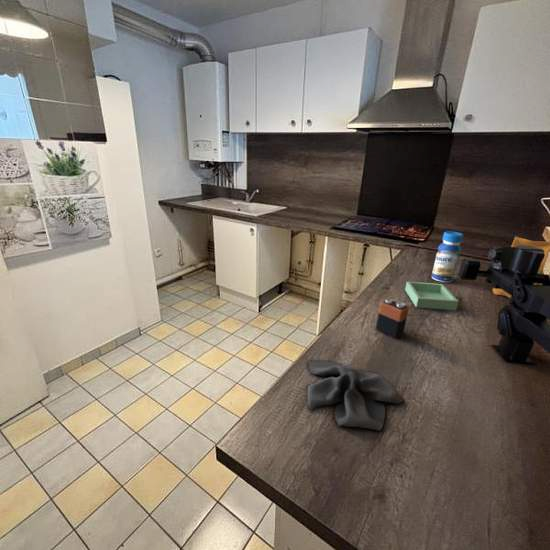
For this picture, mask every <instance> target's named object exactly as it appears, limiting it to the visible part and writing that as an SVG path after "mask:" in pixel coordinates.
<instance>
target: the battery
mask: <svg viewBox="0 0 550 550" xmlns="http://www.w3.org/2000/svg"><path fill="white" fill-rule="evenodd" d="M409 309H410V307H409V306H408V305H406V304H405V303H404V302H402V301H395V300H393V299H391V298H386V299H385V300H383V301H381V302H380V303H379V310H378V314H377V320H376V325H375V329H376V330H378V331H379V332H382V333H383V334H386V335H388V336H390V337H392V338H394V339H398V338H400V337H401V336H402V335H404V332H405V329H406V328H405V327H406V323H407V319H408V315H409Z"/></svg>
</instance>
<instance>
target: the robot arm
mask: <svg viewBox="0 0 550 550" xmlns="http://www.w3.org/2000/svg"><path fill="white" fill-rule="evenodd" d="M544 253H545V251H544V250H543V249H541V248H537V247H532V246H523V245H518V246H516V247H511V246H507V245H505V246H494V247H493V248H491V249H489V250H488V260H490V262H489V263H488V268H481V261H480V260H479V259H477V258H476V259H475V258H463V259H462V260H461V263H460V266H459V270H458V273H457V277H458V278H459V280H461V281H472V282H474V281H476V280H477V278H485V279H484V280H485V281H484V282H485V283H486V284H492V285H493V287H492V288H495V289H502V290H504V291H505V292H507V293H508V294H510V295H511V298H509V302H508V304H505V305H504V306H503V307H502V308H501V309H500V310H499V311H498V315H497V316H498V317H497V326H496V329H497V331H498V334H499V336H501V338H500V340H499V343H498V344H492V348H493V349H494V350H495V352H496V353H497V354H498V355H499V356H500V357H501V359H502V360H503V361H504V362H509V363H510V362H511V363H520V364H530V365H531V364H533V363H534V361H533V360H532V359H531V358H530V357H529V356H530V354H531V352H532V349H533V347H534V345H535V343H536V344H537V345H539V346H540V347H541V348H542V349H544V350H545V351H546V352H547V353H549V354H550V324H549V321H550V274H548V273H547V274H546V273H545V274H544V273H541V274H540V273H538V270H539V268H540V265H541V262H542V261H543V259H544V256H545V254H544ZM491 261H492V262H491ZM533 283H537V285H534V284H533Z"/></svg>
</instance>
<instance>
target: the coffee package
mask: <svg viewBox="0 0 550 550" xmlns="http://www.w3.org/2000/svg"><path fill="white" fill-rule="evenodd" d="M518 245H523V246H532V247H537V248H541V249H543V250H544V251H545V253H544V254H545V256H544V259H543V261H542V262H541V265H540V268H539V270H538V273H540V274H543V270H544V268H545V266H546V263H547V259H548V256H549V253H550V241H542V240H541V241H540V240H539V241H538V240H535V241H534V240H530V239H527V238H523V237H519V236H515V237H514V239H513V242H512V243H511V246H510V247H516V246H518ZM533 284H534V285H538V283H533ZM491 290H492V293H493V295H497V296H504V297H507V298H509V299H511V295H510V294H508V293H507V292H505V291H504V290H502V289H495V288H494V287H492V289H491Z"/></svg>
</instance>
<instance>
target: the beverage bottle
mask: <svg viewBox="0 0 550 550" xmlns="http://www.w3.org/2000/svg"><path fill="white" fill-rule="evenodd" d="M463 238H464V234H463V233H461V232H458V231H444V232H443V236H442V243H440V244H439V246H438V247H437V250H438V251H437V252H436V254H435V260H434V264H433V268H432V272H431V279H432V280H435V281H437V282H439V283H452V282H453V281H454V278H455V274H456V271H457V267H458V264H459V261H460V260H461V259H460V258H461V255H460V254H461V253H462V247H461V243H462V241H463Z"/></svg>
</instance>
